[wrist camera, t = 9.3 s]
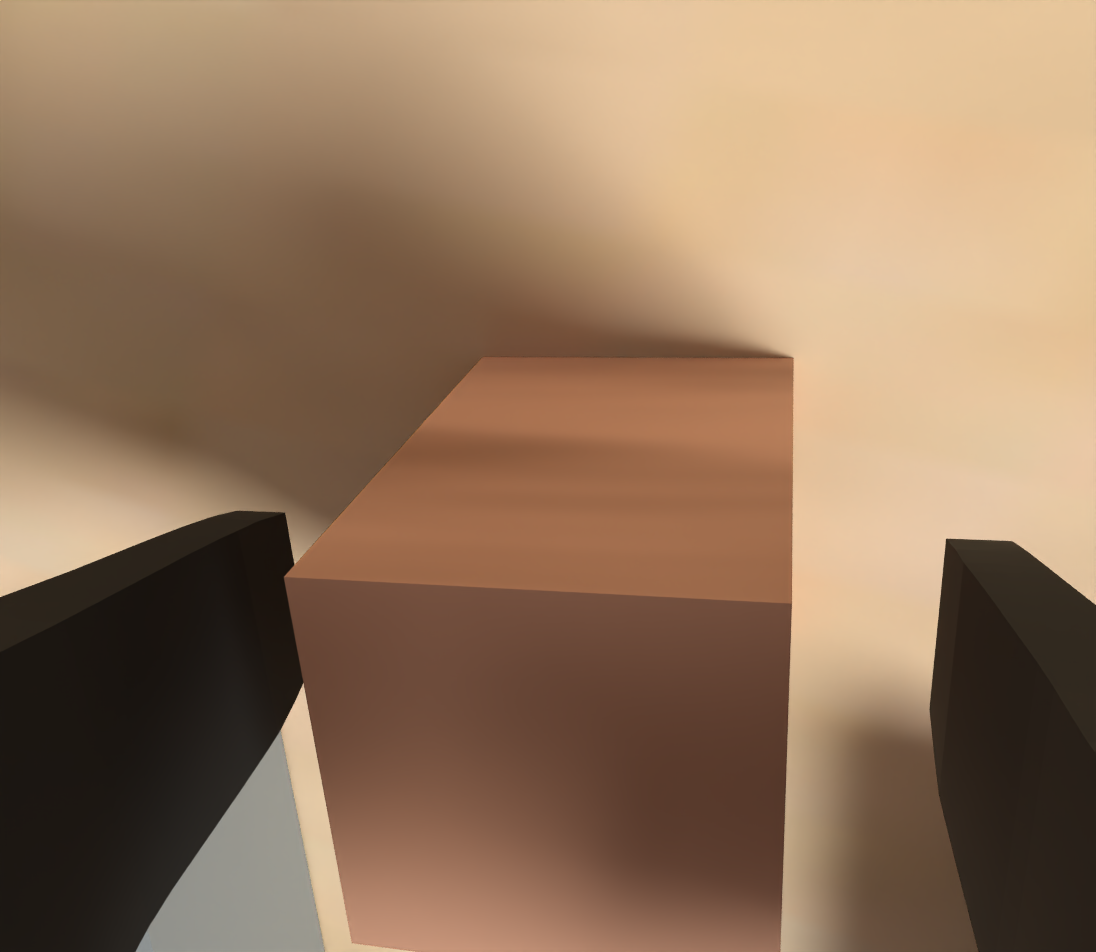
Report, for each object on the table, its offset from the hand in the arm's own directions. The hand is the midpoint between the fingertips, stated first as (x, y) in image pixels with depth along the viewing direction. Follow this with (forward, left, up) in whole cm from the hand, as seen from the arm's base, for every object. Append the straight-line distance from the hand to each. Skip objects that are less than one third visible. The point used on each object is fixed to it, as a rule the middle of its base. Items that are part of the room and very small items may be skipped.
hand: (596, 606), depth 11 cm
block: (0, 0, -3) cm, 3 cm away
